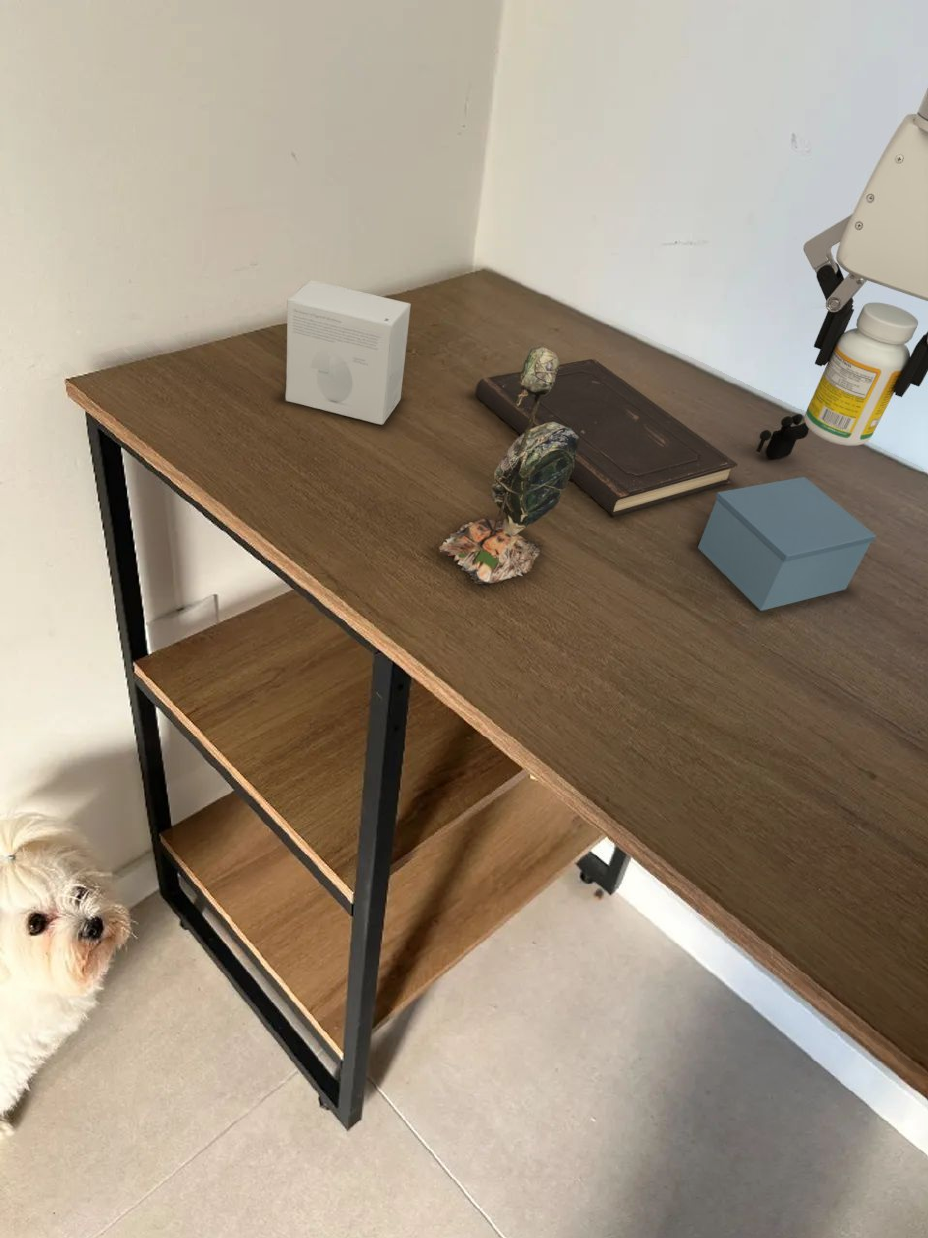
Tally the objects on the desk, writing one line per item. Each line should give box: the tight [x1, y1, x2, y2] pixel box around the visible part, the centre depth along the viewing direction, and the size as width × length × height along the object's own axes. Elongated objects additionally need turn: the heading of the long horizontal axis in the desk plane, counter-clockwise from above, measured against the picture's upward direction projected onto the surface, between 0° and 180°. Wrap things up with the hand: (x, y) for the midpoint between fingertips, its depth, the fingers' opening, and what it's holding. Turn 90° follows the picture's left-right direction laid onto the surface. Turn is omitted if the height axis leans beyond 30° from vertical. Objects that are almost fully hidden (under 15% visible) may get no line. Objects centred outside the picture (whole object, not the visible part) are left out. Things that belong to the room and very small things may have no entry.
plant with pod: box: [438, 346, 585, 586], centre depth 73 cm, size 8×11×20 cm
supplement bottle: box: [803, 302, 919, 447], centre depth 70 cm, size 5×5×10 cm
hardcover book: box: [475, 358, 739, 517], centre depth 95 cm, size 16×23×2 cm
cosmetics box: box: [284, 279, 412, 426], centre depth 91 cm, size 10×6×10 cm, turn 76°
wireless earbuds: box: [756, 413, 810, 460], centre depth 97 cm, size 7×2×5 cm, turn 119°
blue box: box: [697, 476, 877, 612], centre depth 81 cm, size 9×10×6 cm
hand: (863, 372), depth 70 cm, fingers closed on supplement bottle, 5 cm apart
